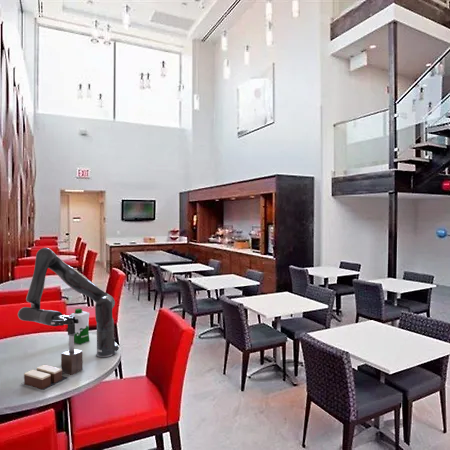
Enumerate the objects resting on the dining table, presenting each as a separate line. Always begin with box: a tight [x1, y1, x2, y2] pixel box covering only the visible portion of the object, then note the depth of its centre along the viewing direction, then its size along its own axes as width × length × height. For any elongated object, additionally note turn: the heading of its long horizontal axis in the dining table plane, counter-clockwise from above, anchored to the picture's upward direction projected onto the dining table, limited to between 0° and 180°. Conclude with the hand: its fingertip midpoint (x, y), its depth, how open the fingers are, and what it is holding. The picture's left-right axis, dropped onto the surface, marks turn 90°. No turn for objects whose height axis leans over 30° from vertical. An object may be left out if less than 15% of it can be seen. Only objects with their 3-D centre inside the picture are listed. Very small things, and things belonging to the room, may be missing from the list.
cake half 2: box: [36, 364, 63, 383], centre depth 177 cm, size 12×4×5 cm, turn 65°
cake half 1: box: [23, 369, 51, 390], centre depth 172 cm, size 12×4×5 cm, turn 65°
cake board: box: [21, 375, 69, 391], centre depth 176 cm, size 15×14×1 cm
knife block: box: [60, 348, 84, 376], centre depth 186 cm, size 7×7×10 cm
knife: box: [67, 317, 75, 353], centre depth 185 cm, size 3×2×19 cm
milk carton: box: [71, 308, 90, 345], centre depth 230 cm, size 9×9×20 cm
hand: (75, 322), depth 184 cm, fingers closed on knife, 2 cm apart
